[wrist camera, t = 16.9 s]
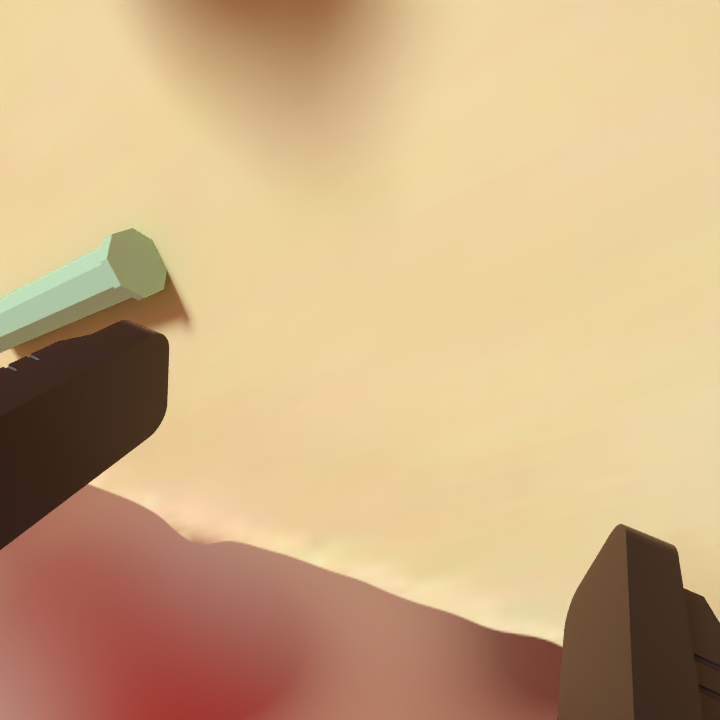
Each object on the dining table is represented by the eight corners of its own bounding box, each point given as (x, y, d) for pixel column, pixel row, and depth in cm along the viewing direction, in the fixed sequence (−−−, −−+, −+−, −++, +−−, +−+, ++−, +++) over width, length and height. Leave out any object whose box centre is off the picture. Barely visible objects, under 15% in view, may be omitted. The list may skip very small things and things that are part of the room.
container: (-45, 364, 55) (113, 295, 43) (-54, 306, 56) (100, 221, 43) (16, 361, 60) (173, 299, 48) (8, 308, 61) (161, 233, 49)
